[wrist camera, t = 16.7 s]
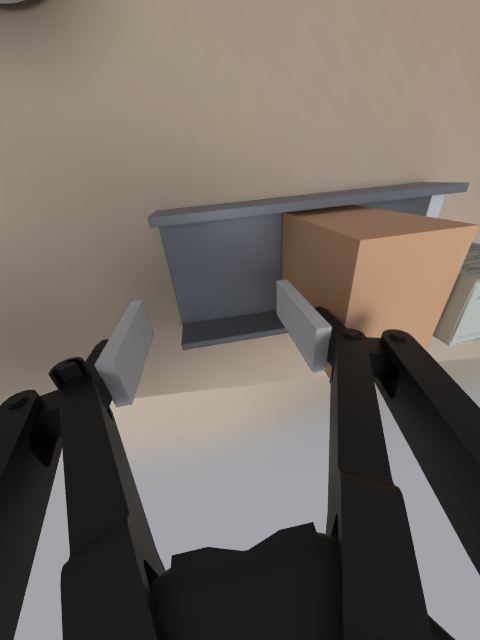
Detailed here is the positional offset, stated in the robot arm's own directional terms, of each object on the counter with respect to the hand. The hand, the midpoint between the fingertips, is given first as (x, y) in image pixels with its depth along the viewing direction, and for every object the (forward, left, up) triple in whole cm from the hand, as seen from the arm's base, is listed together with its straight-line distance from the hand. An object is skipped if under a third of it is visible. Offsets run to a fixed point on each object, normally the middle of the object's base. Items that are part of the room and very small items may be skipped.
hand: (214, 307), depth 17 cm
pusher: (+10, 0, -6) cm, 11 cm away
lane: (+9, 0, -7) cm, 11 cm away
